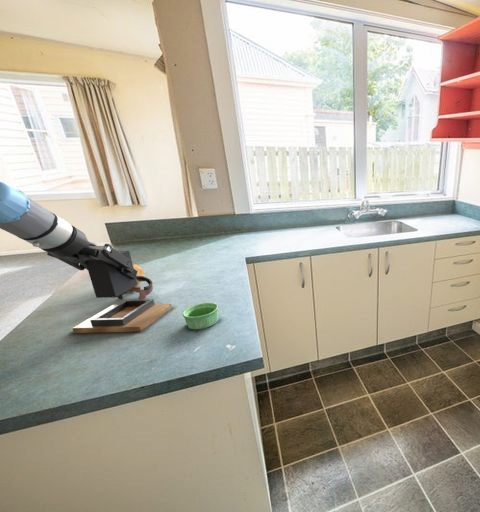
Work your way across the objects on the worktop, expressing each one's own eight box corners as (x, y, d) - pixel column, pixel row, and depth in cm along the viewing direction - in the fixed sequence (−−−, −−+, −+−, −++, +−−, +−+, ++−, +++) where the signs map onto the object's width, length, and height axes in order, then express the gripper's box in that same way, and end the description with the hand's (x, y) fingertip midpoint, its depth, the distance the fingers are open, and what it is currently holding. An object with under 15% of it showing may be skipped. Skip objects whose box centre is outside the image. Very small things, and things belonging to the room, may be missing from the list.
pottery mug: (140, 290, 110) (147, 272, 108) (153, 306, 107) (161, 288, 105) (98, 295, 99) (106, 275, 97) (112, 312, 96) (120, 292, 94)
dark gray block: (96, 297, 82) (84, 260, 78) (120, 284, 90) (110, 250, 87) (115, 297, 82) (105, 260, 79) (137, 284, 91) (129, 250, 87)
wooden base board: (73, 332, 82) (69, 321, 81) (114, 308, 95) (111, 299, 94) (141, 331, 83) (138, 320, 82) (172, 307, 96) (169, 298, 95)
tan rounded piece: (151, 278, 120) (146, 259, 118) (141, 291, 108) (135, 271, 105) (121, 281, 116) (115, 262, 114) (107, 296, 104) (100, 275, 101)
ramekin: (206, 313, 93) (203, 300, 92) (227, 318, 90) (225, 305, 89) (178, 327, 85) (175, 313, 84) (200, 333, 82) (197, 319, 81)
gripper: (2, 251, 65) (86, 288, 86) (93, 249, 68) (153, 286, 88) (18, 223, 69) (95, 265, 89) (104, 221, 71) (160, 263, 91)
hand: (124, 275), depth 89 cm, fingers closed on dark gray block, 5 cm apart
